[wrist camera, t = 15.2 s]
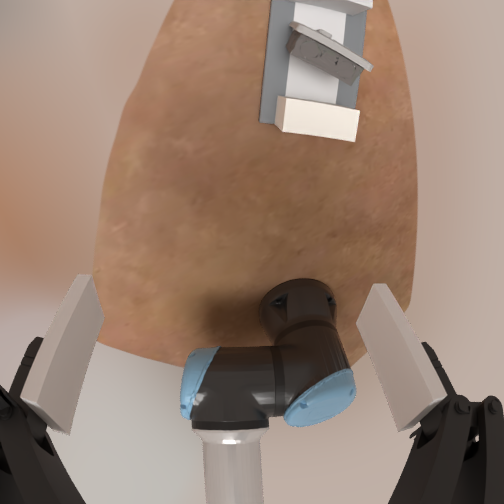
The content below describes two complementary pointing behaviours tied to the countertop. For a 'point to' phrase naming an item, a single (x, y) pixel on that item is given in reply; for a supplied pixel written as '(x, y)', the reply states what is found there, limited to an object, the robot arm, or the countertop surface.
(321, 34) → the electrical switch
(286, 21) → the rail plate
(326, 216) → the countertop surface
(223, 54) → the countertop surface
